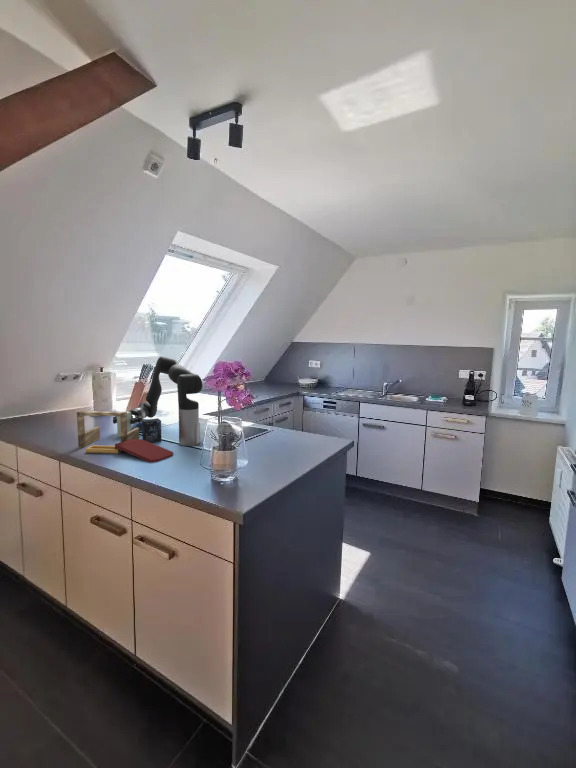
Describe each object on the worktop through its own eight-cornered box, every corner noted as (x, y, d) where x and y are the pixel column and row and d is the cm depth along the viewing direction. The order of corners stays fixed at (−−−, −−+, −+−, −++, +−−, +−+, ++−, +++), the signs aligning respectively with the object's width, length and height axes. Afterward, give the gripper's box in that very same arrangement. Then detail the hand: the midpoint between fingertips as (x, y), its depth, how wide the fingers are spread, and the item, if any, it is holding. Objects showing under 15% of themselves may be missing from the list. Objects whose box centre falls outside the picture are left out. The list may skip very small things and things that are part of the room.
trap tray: (123, 449, 166) (123, 446, 165) (117, 453, 160) (117, 449, 160) (92, 449, 166) (92, 445, 166) (85, 453, 160) (85, 448, 160)
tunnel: (139, 439, 183) (138, 406, 181) (124, 449, 167) (123, 413, 165) (97, 438, 183) (95, 405, 181) (78, 448, 167) (76, 412, 165)
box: (144, 443, 176) (144, 421, 175) (142, 440, 181) (141, 419, 180) (161, 441, 181) (161, 420, 179) (158, 438, 185) (158, 418, 184)
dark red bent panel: (174, 463, 161) (133, 446, 172) (175, 452, 160) (134, 436, 171) (152, 472, 150) (110, 453, 161) (153, 460, 149) (111, 442, 160)
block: (131, 434, 192) (130, 411, 191) (127, 436, 187) (126, 413, 186) (122, 434, 192) (121, 411, 191) (117, 436, 187) (116, 413, 186)
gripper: (122, 408, 203) (108, 414, 187) (148, 408, 203) (136, 414, 187) (123, 421, 204) (108, 428, 188) (148, 422, 204) (136, 429, 187)
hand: (122, 421), depth 187 cm, fingers open, 8 cm apart
